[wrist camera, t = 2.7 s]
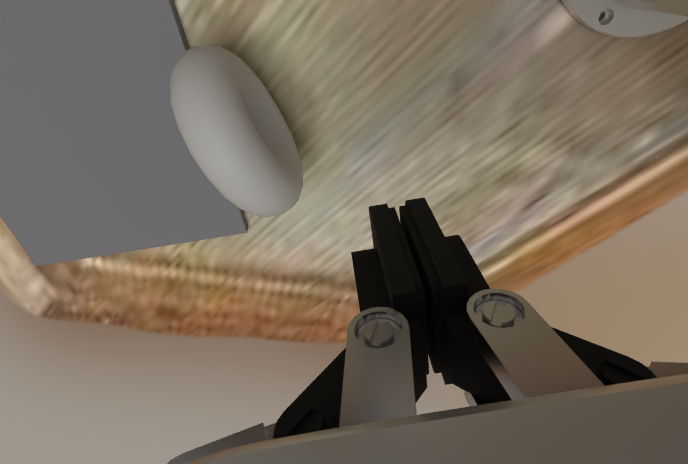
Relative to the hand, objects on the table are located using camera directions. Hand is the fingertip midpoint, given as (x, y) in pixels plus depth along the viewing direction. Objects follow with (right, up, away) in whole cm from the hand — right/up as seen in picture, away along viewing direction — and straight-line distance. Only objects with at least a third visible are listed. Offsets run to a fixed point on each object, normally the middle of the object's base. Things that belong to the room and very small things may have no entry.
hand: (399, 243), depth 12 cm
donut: (-8, +9, +15) cm, 19 cm away
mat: (-19, +7, +15) cm, 25 cm away
